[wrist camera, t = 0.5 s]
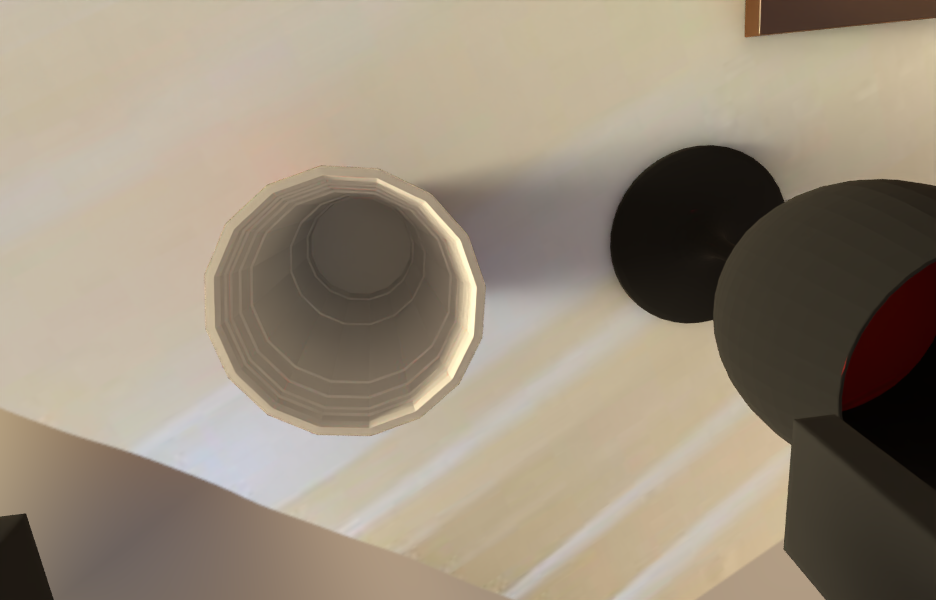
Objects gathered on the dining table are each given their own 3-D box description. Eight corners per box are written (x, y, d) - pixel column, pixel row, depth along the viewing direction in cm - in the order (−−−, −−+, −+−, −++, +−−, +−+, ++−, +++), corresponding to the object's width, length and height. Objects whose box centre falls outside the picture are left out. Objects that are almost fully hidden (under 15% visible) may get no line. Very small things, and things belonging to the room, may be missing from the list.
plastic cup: (445, 127, 36) (469, 146, 25) (471, 319, 40) (502, 414, 28) (237, 155, 36) (164, 189, 24) (281, 348, 39) (236, 458, 28)
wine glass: (643, 349, 41) (854, 575, 22) (582, 191, 38) (769, 300, 19) (804, 278, 41) (1156, 446, 22) (757, 112, 38) (1122, 142, 19)
